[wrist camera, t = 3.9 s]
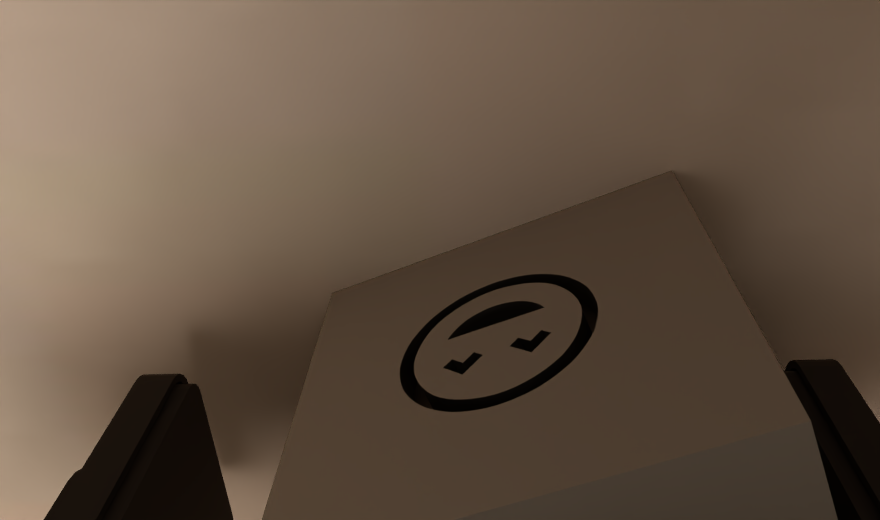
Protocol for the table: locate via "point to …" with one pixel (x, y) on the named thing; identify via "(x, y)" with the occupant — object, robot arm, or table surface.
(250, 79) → the table surface
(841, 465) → the robot arm
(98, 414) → the table surface
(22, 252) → the table surface
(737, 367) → the grey emblem cube
